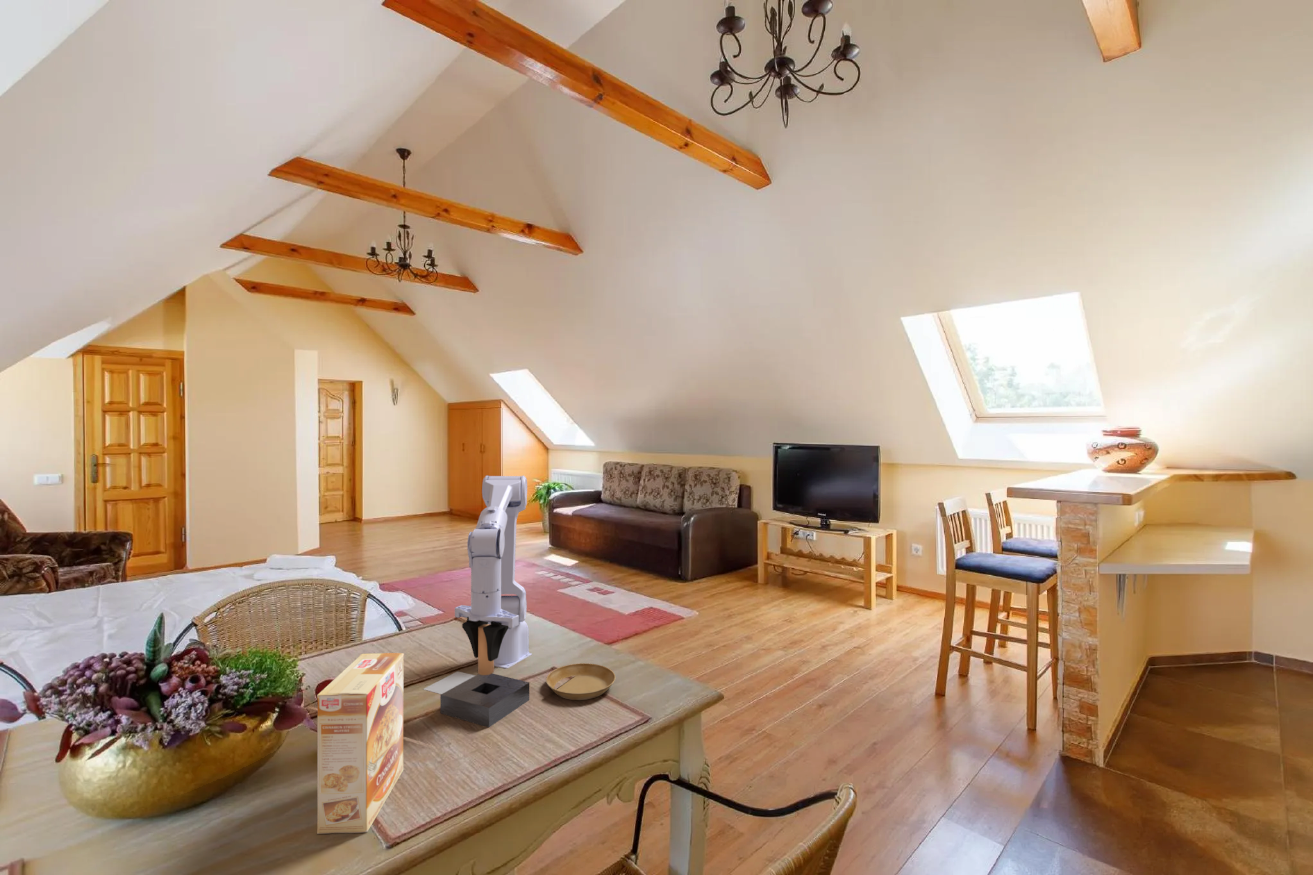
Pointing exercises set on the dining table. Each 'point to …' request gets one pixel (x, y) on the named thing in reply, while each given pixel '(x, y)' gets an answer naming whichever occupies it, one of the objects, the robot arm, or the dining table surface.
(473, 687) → the socket block
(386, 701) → the coffeecake box
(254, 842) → the dining table surface
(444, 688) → the mat
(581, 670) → the plant saucer
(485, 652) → the peg
